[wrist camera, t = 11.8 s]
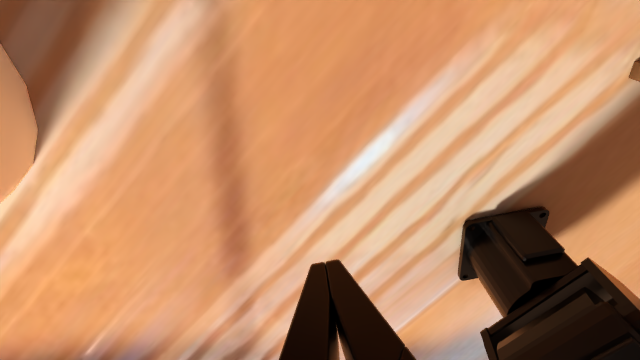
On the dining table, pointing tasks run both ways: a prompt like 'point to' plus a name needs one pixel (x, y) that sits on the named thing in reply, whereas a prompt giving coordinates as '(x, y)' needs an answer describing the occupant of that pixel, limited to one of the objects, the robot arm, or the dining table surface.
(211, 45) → the dining table surface
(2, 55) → the canister
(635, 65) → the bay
